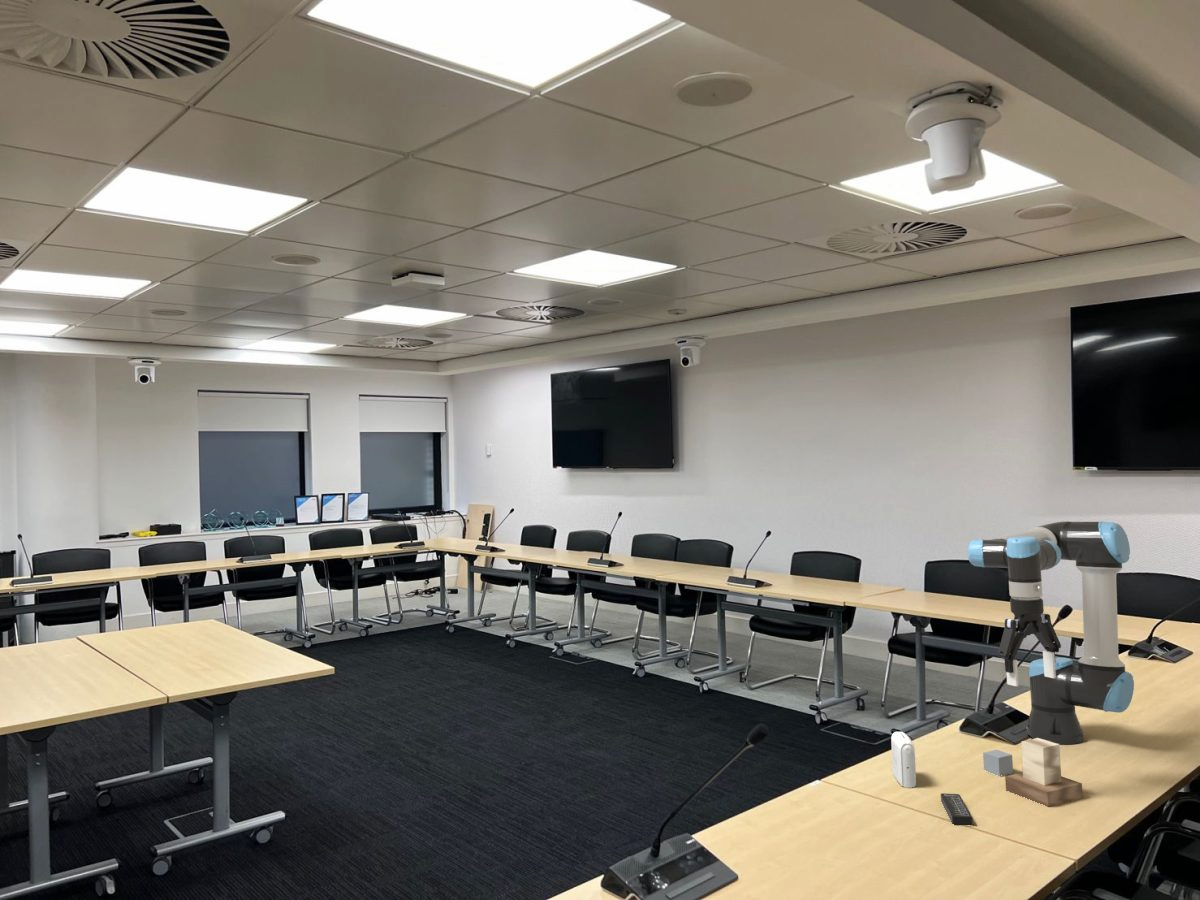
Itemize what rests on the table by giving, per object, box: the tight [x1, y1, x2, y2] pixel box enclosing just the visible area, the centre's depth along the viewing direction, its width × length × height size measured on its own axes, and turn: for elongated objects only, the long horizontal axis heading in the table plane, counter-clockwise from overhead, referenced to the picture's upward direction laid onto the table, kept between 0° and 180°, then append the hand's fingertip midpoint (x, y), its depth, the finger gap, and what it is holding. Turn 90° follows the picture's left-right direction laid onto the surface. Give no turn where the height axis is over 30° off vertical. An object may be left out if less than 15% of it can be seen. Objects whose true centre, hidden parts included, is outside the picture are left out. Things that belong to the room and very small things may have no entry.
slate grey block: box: [982, 749, 1014, 777], centre depth 221 cm, size 5×5×5 cm
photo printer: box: [890, 731, 917, 789], centre depth 218 cm, size 10×4×12 cm, turn 175°
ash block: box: [1021, 738, 1062, 785], centre depth 206 cm, size 6×6×9 cm
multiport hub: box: [940, 793, 974, 826], centre depth 196 cm, size 4×14×2 cm, turn 168°
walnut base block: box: [1004, 771, 1084, 808], centre depth 205 cm, size 12×12×4 cm
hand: (1031, 681), depth 210 cm, fingers open, 13 cm apart
